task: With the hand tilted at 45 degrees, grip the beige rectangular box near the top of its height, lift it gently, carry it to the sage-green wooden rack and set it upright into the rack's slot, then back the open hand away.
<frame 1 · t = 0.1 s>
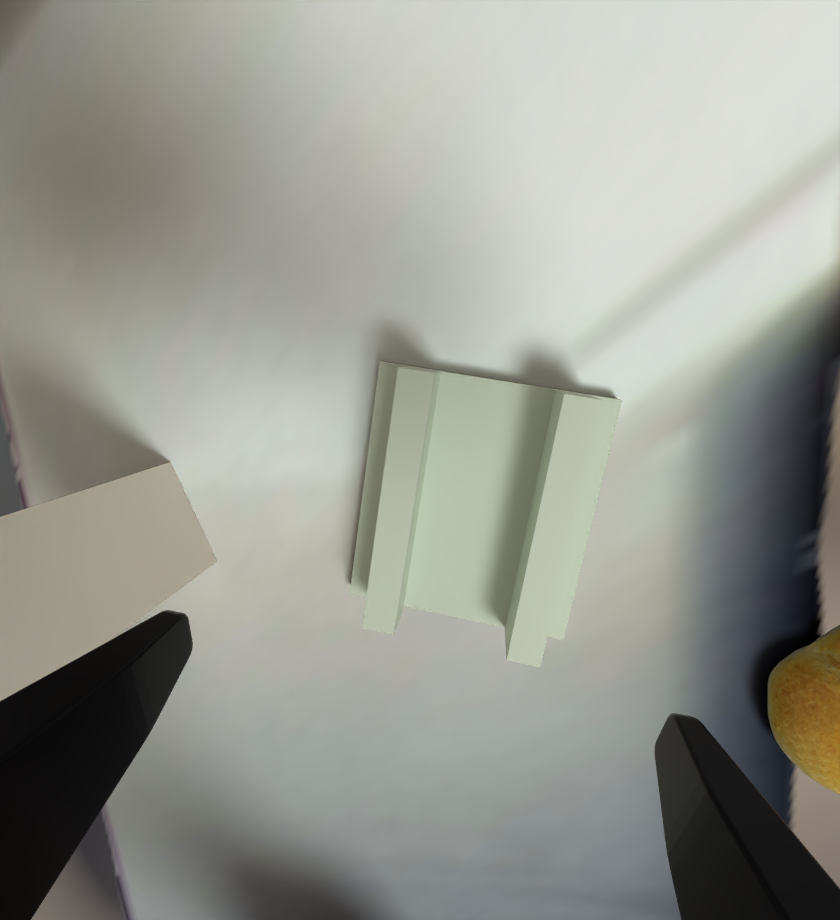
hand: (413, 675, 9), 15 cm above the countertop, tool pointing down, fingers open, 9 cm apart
beige rectangular box: (164, 523, 27), on the countertop
tile rack: (474, 500, 24), on the countertop
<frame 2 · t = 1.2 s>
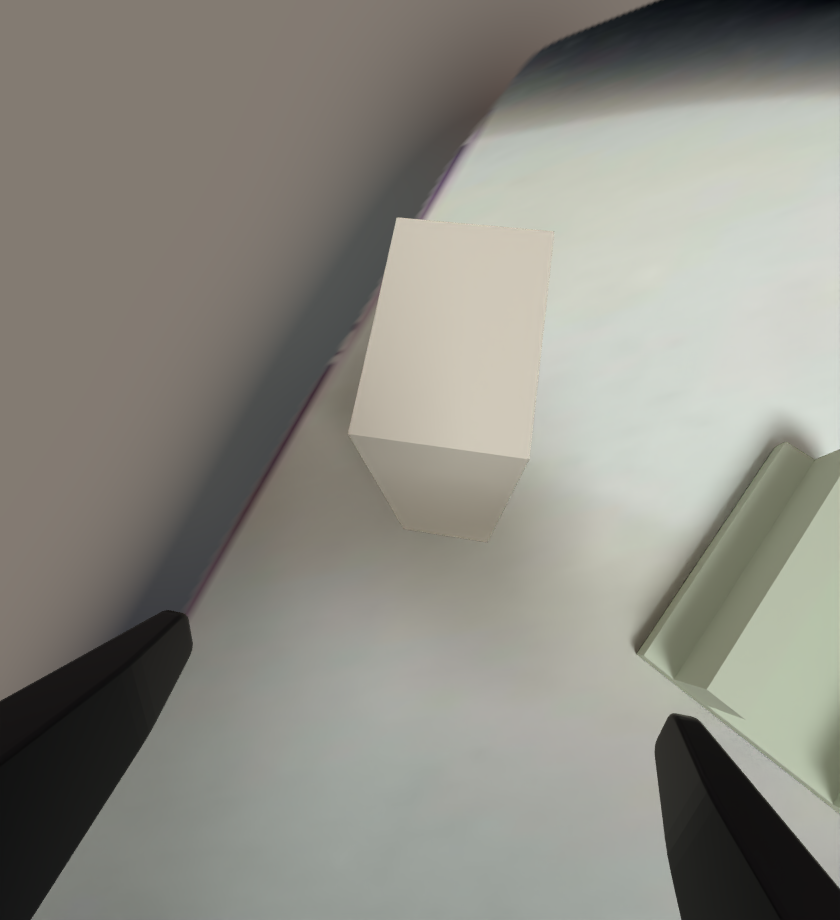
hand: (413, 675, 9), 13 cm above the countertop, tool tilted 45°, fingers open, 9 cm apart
beige rectangular box: (454, 475, 24), on the countertop
tile rack: (826, 627, 21), on the countertop
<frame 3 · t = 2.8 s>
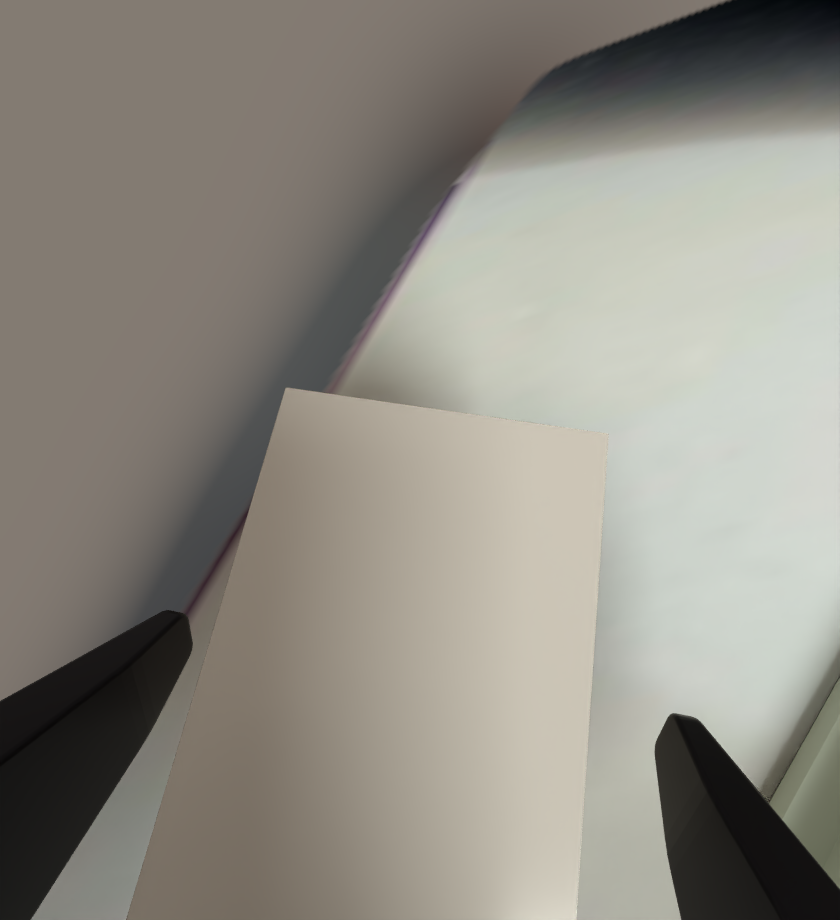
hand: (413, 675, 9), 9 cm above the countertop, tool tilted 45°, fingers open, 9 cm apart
beige rectangular box: (432, 639, 17), on the countertop
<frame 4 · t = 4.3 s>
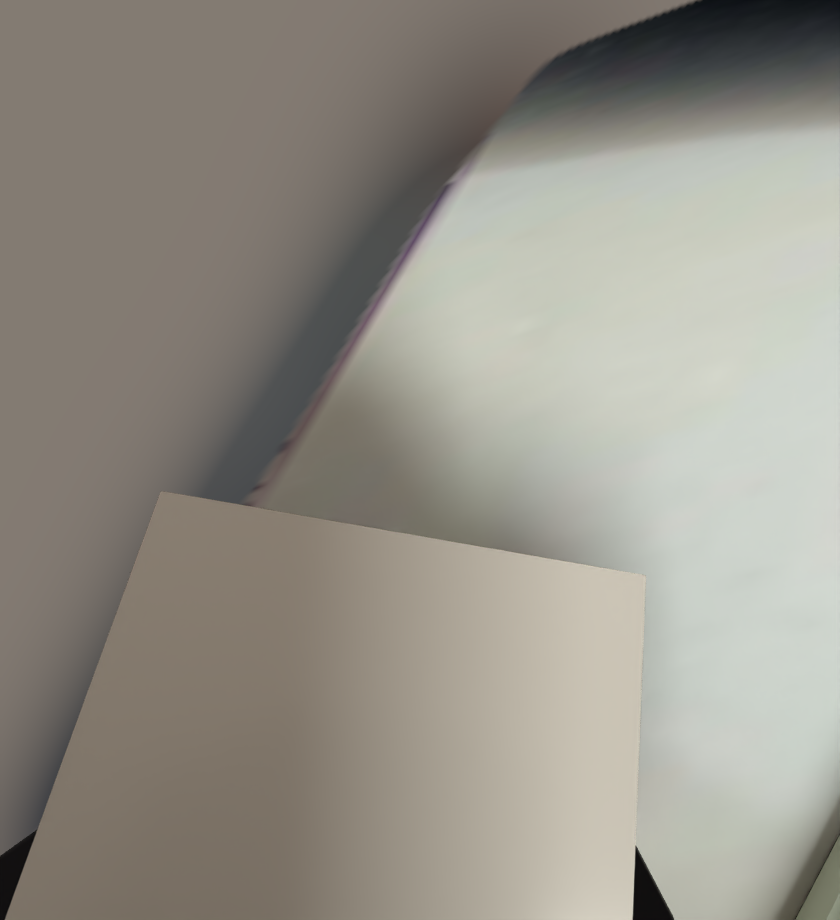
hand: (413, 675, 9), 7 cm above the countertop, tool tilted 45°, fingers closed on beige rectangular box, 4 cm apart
beige rectangular box: (421, 700, 15), on the countertop, touching gripper
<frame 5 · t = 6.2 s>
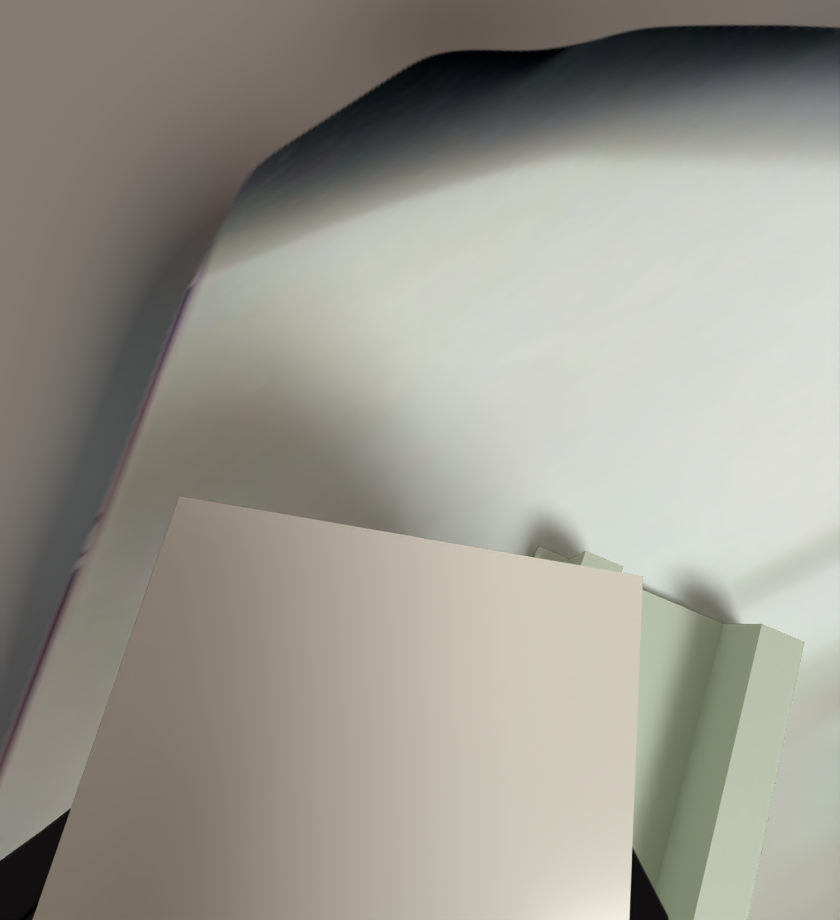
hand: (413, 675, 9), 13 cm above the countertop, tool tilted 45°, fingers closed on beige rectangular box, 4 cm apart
beige rectangular box: (421, 697, 15), point 6 cm above the countertop, touching gripper
tile rack: (613, 735, 20), on the countertop
when the fingers open (9 cm above the countertop, at t = 8.4 s): beige rectangular box stays where it is, resting on tile rack.
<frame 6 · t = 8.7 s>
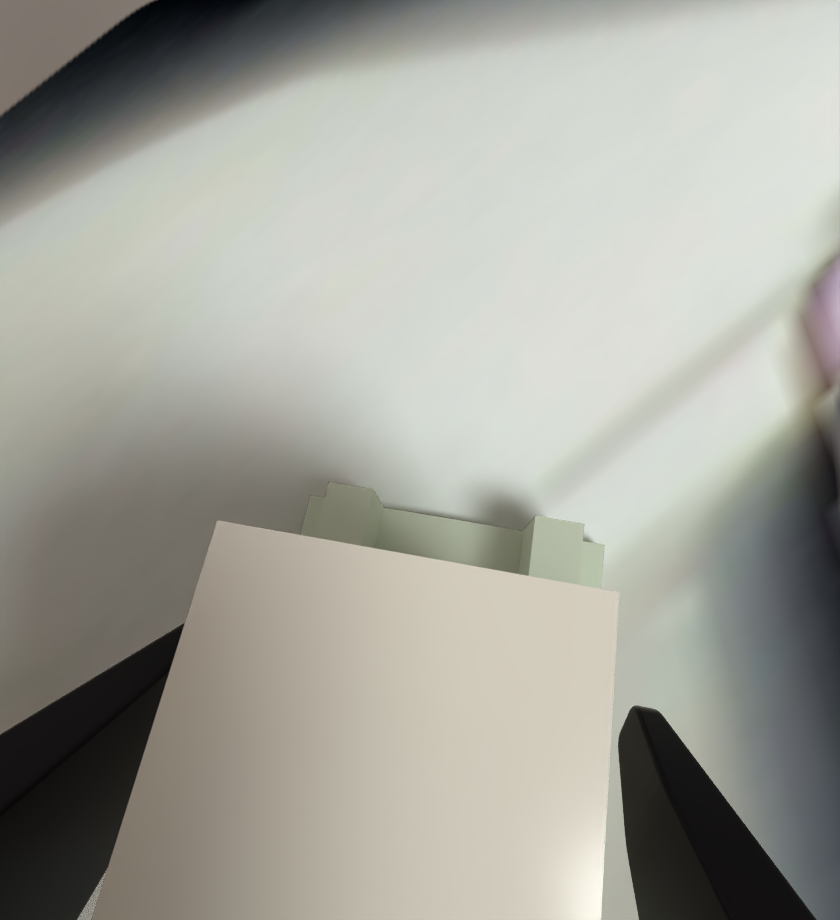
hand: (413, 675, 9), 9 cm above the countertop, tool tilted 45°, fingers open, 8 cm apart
beige rectangular box: (423, 694, 16), point 1 cm above the countertop, touching tile rack
tile rack: (424, 691, 17), on the countertop
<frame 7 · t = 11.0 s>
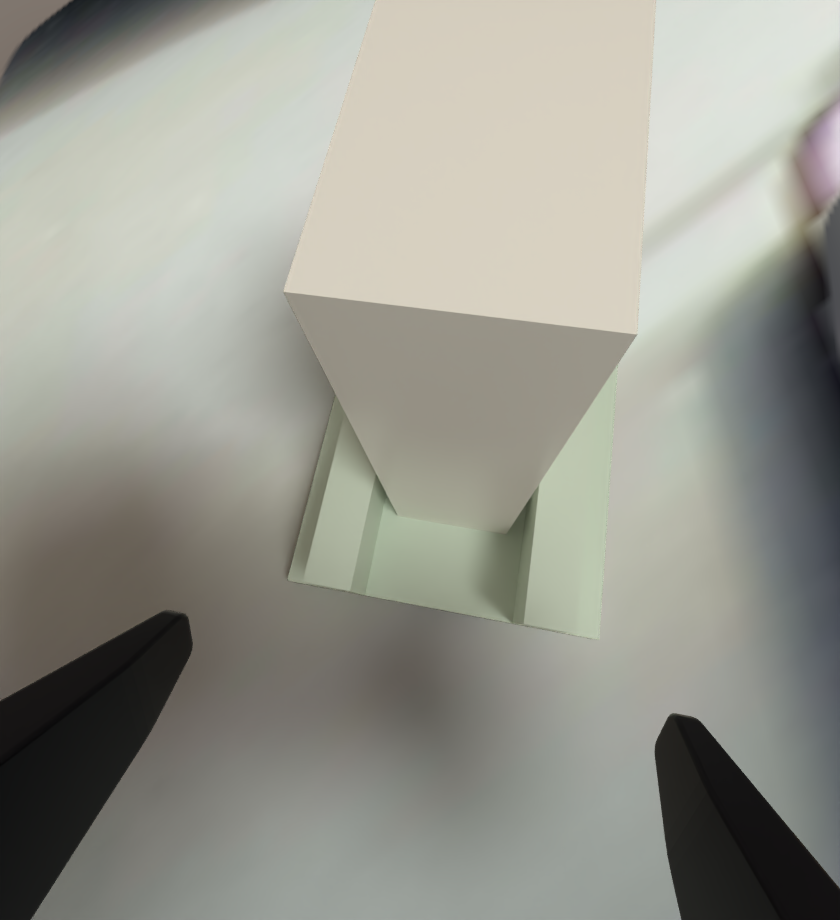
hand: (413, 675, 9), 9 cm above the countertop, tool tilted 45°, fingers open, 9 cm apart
beige rectangular box: (463, 448, 19), point 1 cm above the countertop, touching tile rack
tile rack: (463, 455, 19), on the countertop
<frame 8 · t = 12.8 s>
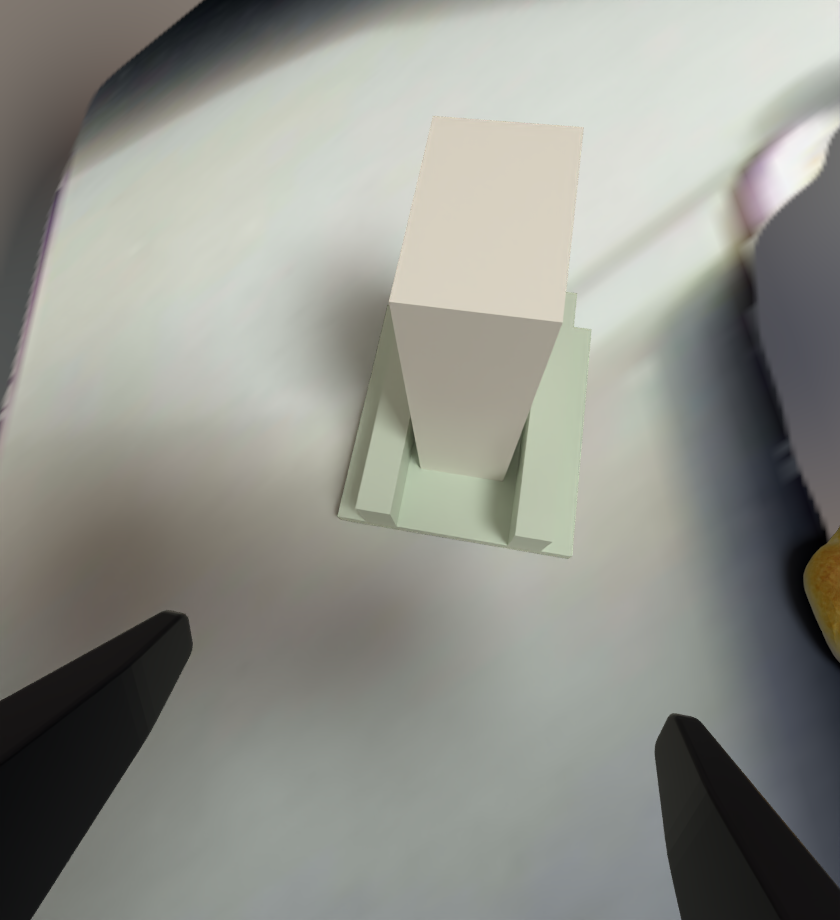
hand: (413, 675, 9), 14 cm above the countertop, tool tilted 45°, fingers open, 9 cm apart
beige rectangular box: (470, 418, 24), point 1 cm above the countertop, touching tile rack
tile rack: (470, 424, 25), on the countertop
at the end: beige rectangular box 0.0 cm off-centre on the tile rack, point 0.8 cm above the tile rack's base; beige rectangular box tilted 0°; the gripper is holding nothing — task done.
